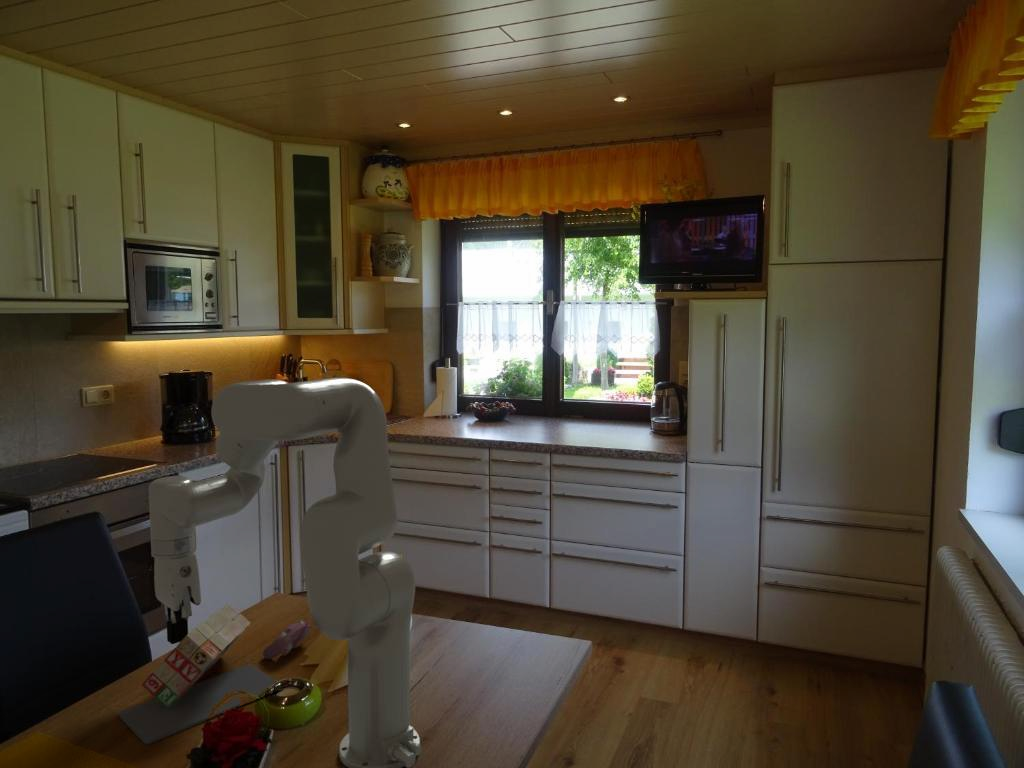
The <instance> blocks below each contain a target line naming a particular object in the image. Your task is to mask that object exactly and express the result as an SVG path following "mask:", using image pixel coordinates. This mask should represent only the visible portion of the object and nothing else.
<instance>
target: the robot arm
mask: <svg viewBox="0 0 1024 768" xmlns="http://www.w3.org/2000/svg"><path fill="white" fill-rule="evenodd" d="M211 419H212V423H213V425H214V427H215V428H216V430H217V431H218V432H219V434H218V435H217V437H216V439H215V444H214V445H215V450H216V453H217V455H218V457H219V459H220V460H221V461H222V462H223V463H224V464H226V465H227V466H228V467H229V469H228V470H227V471H226V472H225V473H224V474H223V475H220V476H214V477H211V478H207V479H202V480H198V481H196V482H193V480H192V479H191V478H190V477H187V476H183V475H181V476H180V475H174V476H172V475H171V476H164V477H160V478H156V479H154V480H152V481H151V483H149V485H148V504H149V507H148V508H149V527H150V528H149V529H150V547H151V548H150V549H151V555H150V556H151V557H152V558H153V559H154V566H153V567H154V568H153V571H154V572H153V573H154V576H153V579H154V580H153V582H154V592H155V598H156V599H157V600H158V601H159V602H160V603H161V604H163V605H164V614H165V620H166V639H167V642H168V643H170V645H174V644H179V643H180V642H181V641H182V640H183V639H184V638H185V636H186V635H187V634H189V624H188V623H189V621H188V620H189V617H192V616H193V611H192V604H193V605H195V606H200V604H202V595H201V594H202V592H201V582H200V581H201V580H200V572H199V565H198V561H197V560H198V559H197V555H196V551H197V530H196V529H197V528H196V527H199V526H201V525H205V524H208V523H211V522H213V521H217V520H221V519H224V518H227V517H231V516H233V515H236V514H238V513H239V512H241V511H242V510H243V509H245V507H247V505H249V503H250V502H252V500H253V499H254V498H255V496H256V495H257V494H258V492H259V491H260V490H261V488H262V486H263V484H264V480H265V473H266V472H265V471H266V467H265V460H266V458H267V457H268V456H269V454H270V453H271V452H272V450H273V449H274V448H275V447H276V445H277V444H278V443H279V442H287V441H288V442H289V441H298V440H303V439H308V438H311V437H316V436H321V435H326V434H329V433H335V432H336V433H338V434H339V438H338V440H337V443H336V446H335V448H334V454H333V464H332V465H333V466H332V468H333V471H334V472H333V473H334V480H335V481H334V482H335V494H333V495H330V496H327V497H324V498H322V499H320V500H317V501H315V503H313V504H312V505H311V506H310V507H308V509H307V510H306V512H305V513H304V515H303V518H302V521H301V523H300V529H299V546H300V553H301V561H302V568H303V574H304V575H303V576H304V583H305V589H306V597H307V601H308V602H307V603H308V607H309V611H310V616H311V618H312V620H313V623H314V625H315V627H316V628H317V629H318V631H319V632H320V633H321V634H322V635H324V637H326V638H328V639H330V640H334V641H344V640H347V681H348V682H347V686H348V687H347V691H348V693H347V694H348V695H347V696H348V700H347V701H348V733H346V735H345V736H344V737H343V738H342V740H341V741H340V742H339V747H338V755H339V759H340V762H341V763H342V764H343V765H344V766H345V767H347V768H403V767H406V768H411V767H412V766H414V764H415V762H416V759H417V756H419V755H420V754H421V753H422V752H423V746H422V745H421V739H420V735H419V733H418V732H417V731H416V729H414V727H413V726H411V679H410V678H411V671H410V670H411V669H410V668H411V666H410V665H411V661H410V659H411V657H410V656H411V655H410V654H411V647H410V646H411V645H410V643H411V639H410V638H411V632H410V631H411V621H412V612H413V607H414V602H415V594H416V578H415V574H414V570H413V569H412V566H411V564H410V563H409V561H407V559H406V558H404V556H402V555H401V554H398V553H397V552H393V551H387V550H386V551H378V552H374V553H371V554H369V555H366V556H364V557H362V558H360V559H359V555H361V554H363V553H365V552H367V551H370V550H372V549H374V548H376V547H378V546H380V545H382V544H384V543H385V542H387V541H388V540H390V539H391V538H392V537H393V536H394V534H395V532H396V530H397V527H398V516H397V513H398V512H397V505H396V498H395V491H394V484H393V483H394V482H393V475H392V469H391V463H390V456H389V445H388V444H389V443H388V442H389V441H388V438H389V437H388V422H387V420H388V419H387V414H386V411H385V407H384V404H383V402H382V400H381V398H380V396H379V395H378V394H377V393H376V391H375V390H374V389H373V388H372V387H370V386H369V385H368V384H366V383H364V382H362V381H361V380H357V379H354V378H348V377H331V378H330V377H329V378H319V379H312V380H306V381H304V380H303V381H296V382H288V381H284V380H281V379H275V378H273V379H272V378H271V379H270V378H269V379H268V378H267V379H261V380H260V379H259V380H251V381H250V380H249V381H248V380H247V381H241V382H234V383H230V384H228V385H226V386H225V387H223V388H222V389H220V390H219V392H218V393H217V394H216V395H215V397H214V399H213V402H212V404H211Z"/></svg>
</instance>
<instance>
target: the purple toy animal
mask: <svg viewBox="0 0 1024 768" xmlns="http://www.w3.org/2000/svg"><path fill="white" fill-rule="evenodd" d="M311 630H312V625H311V624H309V623H307V622H305V621H303V620H300V621H299V622H295V623H291V624H289V625H288V626H287V627H285V630H283V632H281V633H280V634H279V635H278V636H277V637H276V638H275V640H274V641H273V642H272V643H270V644H268V645H267V646H266V647H265V648H264V650H263V652H262V656H263V658H264V659H265V660H272V659H275V658H276V657H278V656H280V655H283V656H284V657H286V656H287V655H289V654H290V652H291V651H292V649H293V650H296V649H298V648H299V647H300V646H301V644H302V642H303V641H304V640H305V639H306V638H307V637H308V635H309V633H310V632H311ZM297 647H298V648H297ZM295 648H296V649H295ZM288 653H289V654H288ZM285 655H286V656H285Z"/></svg>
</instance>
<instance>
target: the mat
mask: <svg viewBox="0 0 1024 768" xmlns="http://www.w3.org/2000/svg"><path fill="white" fill-rule="evenodd" d="M275 683H278V682H277V681H276V680H275V679H273V678H272V677H270V676H269V675H267V674H266V673H264V672H263V671H261V669H258V668H257V667H256V666H255V665H253V664H252V663H249V664H247V665H244V666H241V667H238V668H236V669H233V670H230V671H228V672H225V673H222V674H219V675H217V676H214V677H213V676H212V677H211V678H208V679H205V680H203V681H200V682H198V683H194V684H193V685H192V686H191V687H190V688H189V689H188V690H187V691H186V692H185V693H184V694H183V695H182V696H181V697H180V698H179V699H178V700H176V701H175V702H174V703H173V704H172V705H171V706H170V707H169V708H167V707H166V706H164V705H163V704H162V703H161V702H160V701H159V700H158V699H157V698H156V697H155V698H154V699H153V698H152V699H150V700H148V701H146V702H143V703H139V704H138V705H134V706H132V707H129V708H127V709H124V710H122V711H118V712H117V716H118V717H119V718H120V719H121V720H122V721H123V722H124V723H125V724H126V726H127V727H128V728H129V729H130V730H131V731H132V732H133V733H134V734H135V735H136V736H137V737H138V738H139V740H140V741H141V742H142V743H143V744H144V743H145V744H144V745H145V746H147V745H150V744H153V743H155V742H157V741H159V740H162V739H165V738H167V737H170V736H173V735H175V734H177V733H179V732H182V731H185V730H186V729H189V728H192V727H194V726H197V725H199V724H202V723H204V722H207V721H208V720H207V719H208V717H209V715H210V712H211V711H212V709H213V708H214V707H215V706H216V705H217V704H218V702H219V701H220V700H221V699H222V698H223V697H224V696H225V695H226V694H228V693H230V692H234V691H239V690H242V691H247V692H249V693H252V694H254V695H260V694H261V692H262V691H264V690H265V689H267V688H268V687H270V686H272V685H273V684H275ZM234 697H235V698H232V699H231V701H229V703H228V702H227V704H225V705H223V707H220V709H219V710H216V711H215V713H214V714H213V716H215V715H217V714H221V713H222V712H224V711H225V710H228V709H234V710H236V709H237V708H236V707H238V706H239V705H240V704H242V703H240V702H239V700H238V701H237V699H238V698H239V699H240V697H241V696H238V697H237V696H234ZM236 698H237V699H236ZM235 700H236V701H235ZM224 709H225V710H224ZM206 720H207V721H206ZM152 742H153V743H152ZM149 743H150V744H149Z"/></svg>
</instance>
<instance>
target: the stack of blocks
mask: <svg viewBox="0 0 1024 768" xmlns="http://www.w3.org/2000/svg"><path fill="white" fill-rule="evenodd" d="M250 625H251V622H250V621H249V620H248V619H247V618H246V617H245V616H244V615H243V614H241V613H240V612H239V611H238V610H236V609H235V608H234V607H233V606H232V605H231V604H230V603H229V602H228V603H226V604H225V606H223V607H222V608H221V609H218V608H217V610H215V612H213V613H212V614H210V616H209V617H208V618H207V619H205V620H204V621H202V622H201V623H200V624H199V625H197V627H195V628H194V629H192V630H191V631H190V632H188V634H187V635H186V636H185V638H184V639H183V640H182V641H181V642H178V643H177V645H176V646H175V647H174V648H173V649H172V651H171V652H169V654H168V655H167V656H166V657H165V658H164V660H163V661H162V662H161V663H160V664H159V665H158V666H157V667H156V669H155V670H154V671H152V672H151V673H150V675H149V676H147V678H146V679H145V680H144V681H143V682H142V683H141V686H142V687H143V688H144V689H146V691H148V693H150V694H151V696H153V697H155V699H156V698H157V699H158V700H159V701H160V702H161V703H162V704H163V705H164V706H166V707H167V708H169V707H170V706H171V705H172V704H173V703H174V702H175V701H176V700H178V699H179V698H180V697H181V696H182V695H183V694H184V693H185V692H186V691H187V690H188V689H189V688H190V687H191V686H192V685H194V684H196V682H198V680H199V678H201V677H202V676H203V675H204V674H205V672H207V670H208V669H211V667H212V666H214V665H215V664H216V663H217V662H218V661H219V659H220V658H222V657H223V655H224V654H225V653H226V652H227V651H228V650H229V648H231V647H232V645H233V644H235V642H236V641H237V640H238V639H239V638H240V637H241V635H242V634H243V633H244V632H245V630H247V628H248V627H249V626H250Z"/></svg>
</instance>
